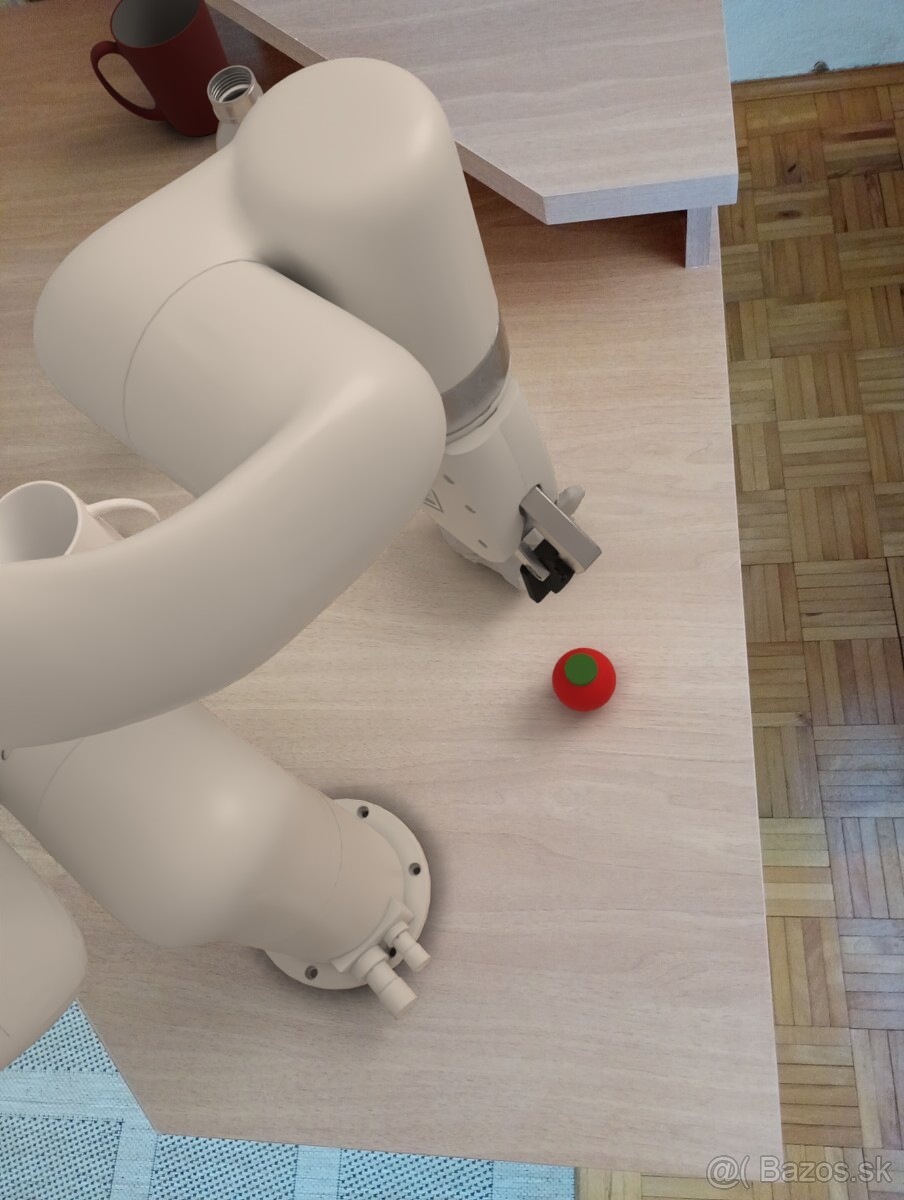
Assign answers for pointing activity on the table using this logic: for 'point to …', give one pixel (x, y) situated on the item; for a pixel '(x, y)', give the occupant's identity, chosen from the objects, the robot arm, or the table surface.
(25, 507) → the mug
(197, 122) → the mug
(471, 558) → the figurine
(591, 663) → the tomato
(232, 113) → the silver metal bottle
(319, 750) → the table surface
